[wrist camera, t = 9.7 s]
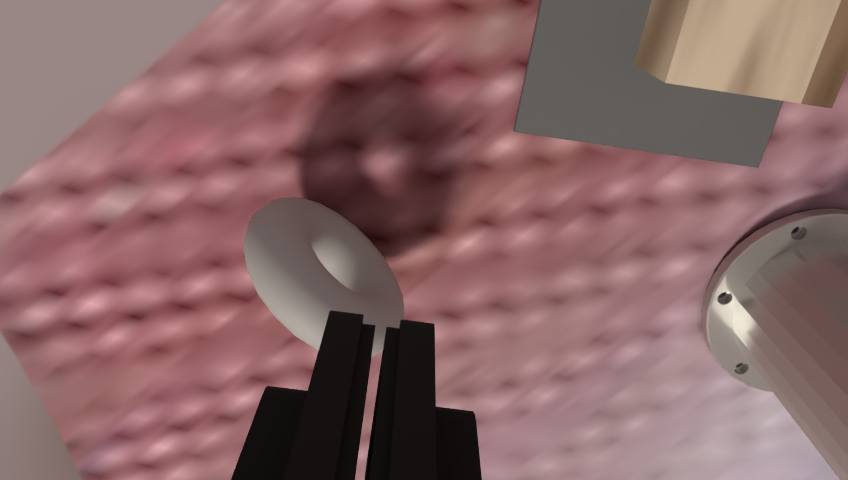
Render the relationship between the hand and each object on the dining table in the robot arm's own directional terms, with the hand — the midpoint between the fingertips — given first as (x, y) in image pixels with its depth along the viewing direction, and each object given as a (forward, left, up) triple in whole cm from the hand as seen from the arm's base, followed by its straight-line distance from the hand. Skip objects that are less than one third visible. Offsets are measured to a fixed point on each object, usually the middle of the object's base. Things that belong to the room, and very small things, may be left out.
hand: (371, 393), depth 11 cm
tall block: (-12, -5, -24) cm, 27 cm away
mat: (-13, -4, -27) cm, 30 cm away
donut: (+3, +10, -27) cm, 29 cm away
